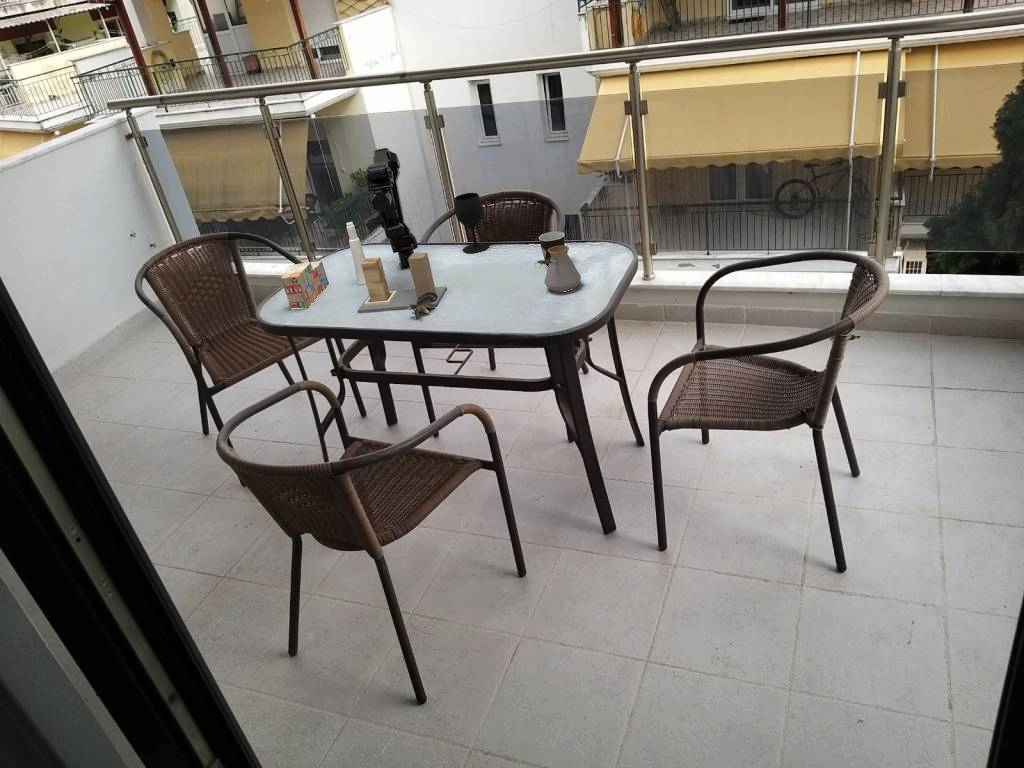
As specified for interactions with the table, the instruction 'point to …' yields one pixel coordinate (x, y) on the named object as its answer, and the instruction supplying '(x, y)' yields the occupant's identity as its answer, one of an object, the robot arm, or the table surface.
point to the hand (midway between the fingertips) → (397, 248)
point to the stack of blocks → (304, 283)
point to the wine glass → (470, 218)
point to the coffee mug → (551, 242)
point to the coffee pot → (560, 270)
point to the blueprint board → (404, 297)
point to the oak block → (375, 279)
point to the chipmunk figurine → (423, 303)
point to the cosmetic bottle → (356, 253)
